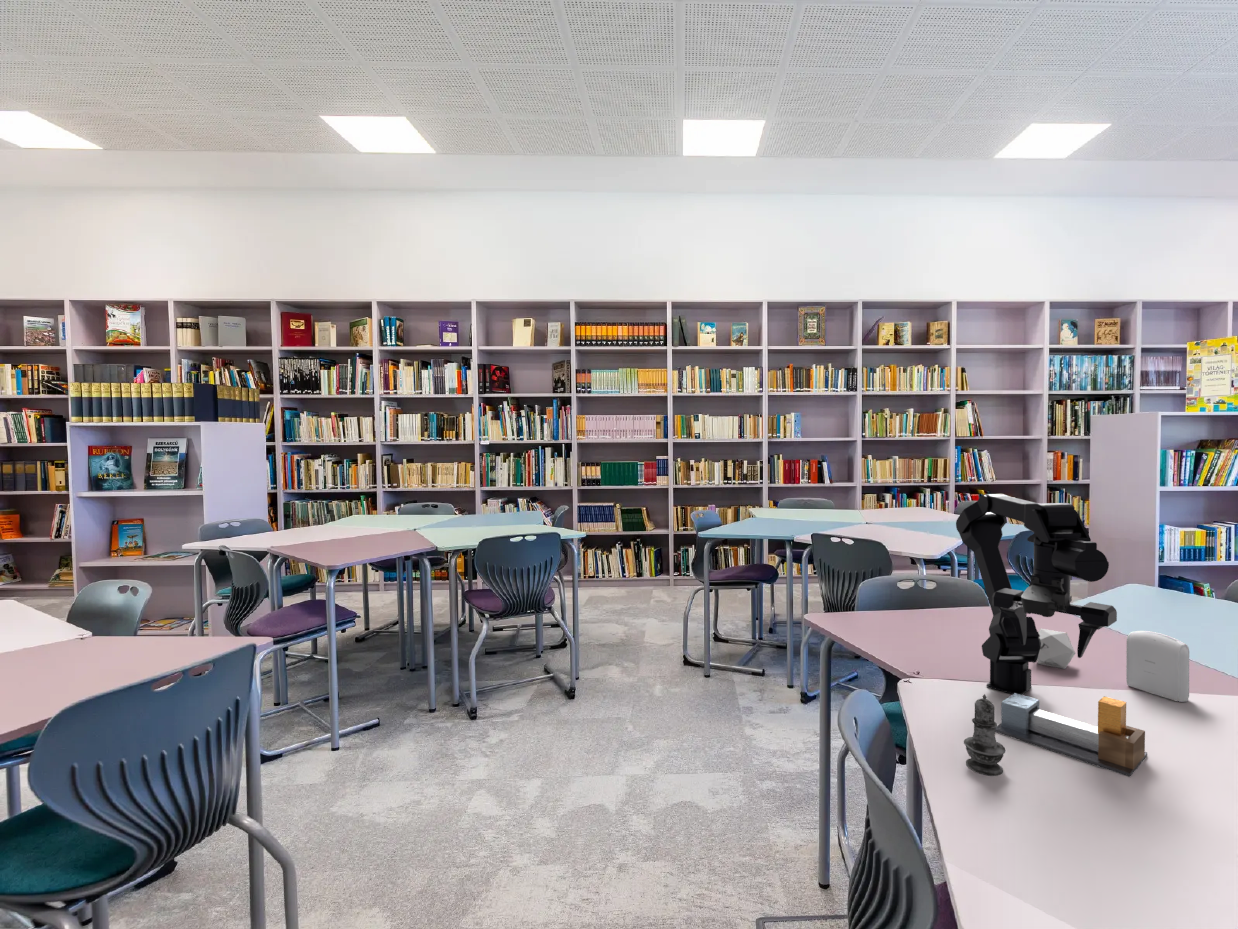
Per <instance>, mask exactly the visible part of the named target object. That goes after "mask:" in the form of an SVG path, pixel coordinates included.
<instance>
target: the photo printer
mask: <svg viewBox="0 0 1238 929" xmlns="http://www.w3.org/2000/svg"><path fill="white" fill-rule="evenodd" d="M1125 664H1126V666H1125V667H1126V670H1125V672H1126V673H1125V675H1126V685H1127V686H1128V687H1132V688H1134V689H1137V690H1140V691H1143V692H1147V693H1149V694H1153V695H1155V696H1158V697H1162V698H1166V699H1168V700H1172V701H1175V702H1178V701H1179V703H1187V702H1188V701H1189V698H1190V648H1189V646H1188V644H1186V643H1185V642H1183V641H1181V640H1180V639H1177V638H1174V637H1172V636H1170V635H1167V634H1164V633H1160V632H1155V631H1149V630H1135V631H1130V632H1129V634H1128V635H1127V638H1126V663H1125Z"/></svg>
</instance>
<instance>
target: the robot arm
mask: <svg viewBox="0 0 1238 929" xmlns="http://www.w3.org/2000/svg"><path fill="white" fill-rule="evenodd" d="M1075 508H1076V507H1075V506H1074V505H1073V504H1071V503H1069V502H1057V503H1056V502H1055V503H1054V502H1052V503H1051V502H1049V503H1048V502H1047V503H1041V502H1040V503H1038V502H1034V501H1029V500H1025V499H1021V498H1016V497H1012V496H1009V495H1007V494H1004V493H985V494H982V495H980V497H979V498H978V499H977V501H976V502H974V503H972V504H970V505H969V506H967V507H965V508H964V509H963V510H962V511H961V513H960V515H959V516H958V517H957V519H956V520H955V527H956V531H957V532H958V534H959V536H960V539H961V540H962V544H964V545H965V546H966V547H967V548H969V549H970V550H971V551H972V553H973V554H974V556H975V560H976V563H977V568H978V570H979V573H980V577H981V579H982V583H983V586H984V589H985V592H986V593H985V594H986V596H987V599H988V602H989V606H990V608H991V609H990V610H991V612H992V619H991V622H990V625H989V627H988V632H989V637H988V638H987V639H986V640H985V641H984V643H982V645H981V651H982V655H983V656H984V657H985V658H986V659H988V660H989V682H988V683H986V687H987V688H991V689H993V690H996V691H1001V692H1003V693H1007V694H1011V695H1013V694H1014V693H1017V694H1021V695H1024V694H1025V693H1027V692H1029V691H1030V690H1031V689H1032V688H1033V687H1032V669H1030V668H1029V663H1037V658H1038V654H1039V651H1040V648H1041V641H1040V638H1039V637H1040V635H1039V633H1038V630H1037V627H1036V622H1035V619H1034V618H1033V617H1032V616H1027V615H1031V614H1032V615H1033V614H1034V615H1039V616H1042V617H1044V618H1051V617H1053V616H1054V615H1055V613H1060V614H1061V613H1062V614H1067V615H1073V616H1078V617H1079V618H1080V619H1081V622H1079V623H1077V624H1078V625H1077V626H1078V630H1079V634H1078V642H1077V651H1076V652H1077V658H1078V659H1081V658H1082V657H1083V656H1084V653H1086V649H1087V648H1088V645H1089V644H1090V641H1091V640H1092V638H1093V636H1094V634H1095V633H1096V631H1097V630H1098V631H1099V630H1102V629H1103V628H1105V627H1106V628H1107V627H1110V626H1111V625H1113V624H1115V623H1116V622H1117V619H1118V612H1117V609H1116V608H1115V607H1114V605H1111V604H1104V603H1099V602H1098V603H1097V602H1092V601H1090V602H1087V603H1086V604H1083V605H1078V604H1073V603H1071V602H1072V600H1073V598H1072V595H1071V581H1072V580H1073V578H1076V579H1080V580H1082V581H1085V582H1088V583H1089V582H1090V583H1091V582H1092V583H1094V582H1097V581H1099V580H1102V579H1104V577H1105V576H1106V575H1107V573H1108V571H1109V566H1110V564H1109V563H1110V562H1109V561H1108V559H1107V556H1106V555H1105V554H1104V552H1103V551H1100V550H1099V549H1098V544H1097V542H1096V541H1091V540H1092V539H1091V536H1090V535H1089V531H1088V530H1087V528H1086V526H1085V524H1084V523H1083V520H1082V518H1081V516H1080V514H1079V513H1078V511H1077V510H1076V509H1075ZM1007 518H1008V519H1012V520H1015V521H1019V522H1021V523H1023V526H1024V528H1026V529H1027V530H1029V531H1031V532H1032V534H1030V536H1028V537H1027V538H1026V540H1027V541H1028V542H1030V543H1032V544H1033V573H1032V574H1031V577H1030V582H1029V585H1028V587H1026V589H1025V590H1019V589H1013V588H1012V584H1011V582H1010V578H1009V576H1008V572H1007V569H1006V567H1005V563H1004V561H1003V557H1002V553H1001V551H1000V548H999V546H1000V544H1001V540H1002V537H1003V530H1002V529H1003V528H1004V526H1005V525H1006V524H1007V523H1008V519H1007Z"/></svg>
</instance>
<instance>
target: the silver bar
mask: <svg viewBox="0 0 1238 929" xmlns="http://www.w3.org/2000/svg"><path fill="white" fill-rule="evenodd" d="M1097 703H1098V704H1097V705H1098V706H1097V725H1094V724H1090V723H1088V722H1087V723H1086V722H1083V721H1080V720H1075V719H1073V718H1069V717H1067V716H1062V715H1059V714H1056V713H1052V712H1048V711H1045V710H1042V709H1040V708H1039V709H1036V708H1033V709H1031V710H1030V711H1029V712H1028V729H1029V730H1032V731H1035V732H1038V733H1041V734H1044V735H1047V736H1050V737H1054V738H1057V739H1060V740H1063V741H1066V742H1069V743H1072V744H1076V745H1079V746H1082V747H1085V748H1088V749H1091V750H1094V751H1097V752H1098V741H1099V732H1100V731H1103V732H1106V733H1110V734H1113V735H1117V736H1120V737H1123V738H1127V739H1128V738H1129V737H1130V736H1128V735H1126V726H1127V702H1126V701H1123V700H1119V699H1115V698H1113V697H1108V696H1103V697H1102V698H1100V699H1099V700H1098V702H1097Z"/></svg>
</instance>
